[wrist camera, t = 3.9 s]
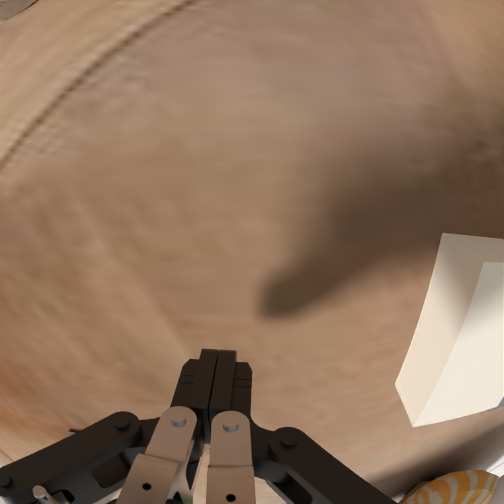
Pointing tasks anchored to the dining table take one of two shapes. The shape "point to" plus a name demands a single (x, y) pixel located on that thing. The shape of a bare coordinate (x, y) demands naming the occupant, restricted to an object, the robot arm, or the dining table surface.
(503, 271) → the carton
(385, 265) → the dining table surface
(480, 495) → the nautilus
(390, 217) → the dining table surface
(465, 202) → the dining table surface
